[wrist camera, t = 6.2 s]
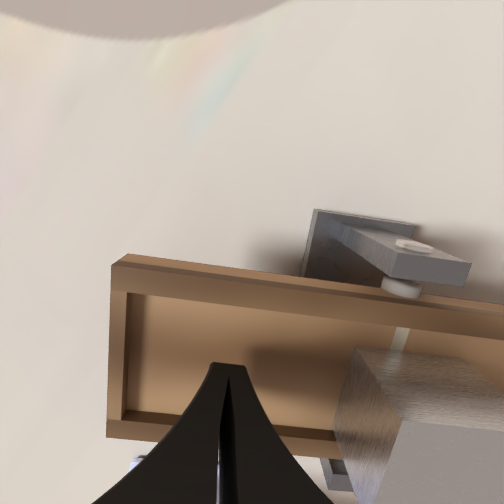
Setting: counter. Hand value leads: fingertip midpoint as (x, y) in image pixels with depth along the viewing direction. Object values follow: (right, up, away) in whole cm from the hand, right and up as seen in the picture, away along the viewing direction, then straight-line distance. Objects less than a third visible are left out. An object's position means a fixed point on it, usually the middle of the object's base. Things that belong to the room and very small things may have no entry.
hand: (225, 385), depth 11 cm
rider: (+8, -1, +2) cm, 8 cm away
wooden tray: (+7, 0, +3) cm, 8 cm away
